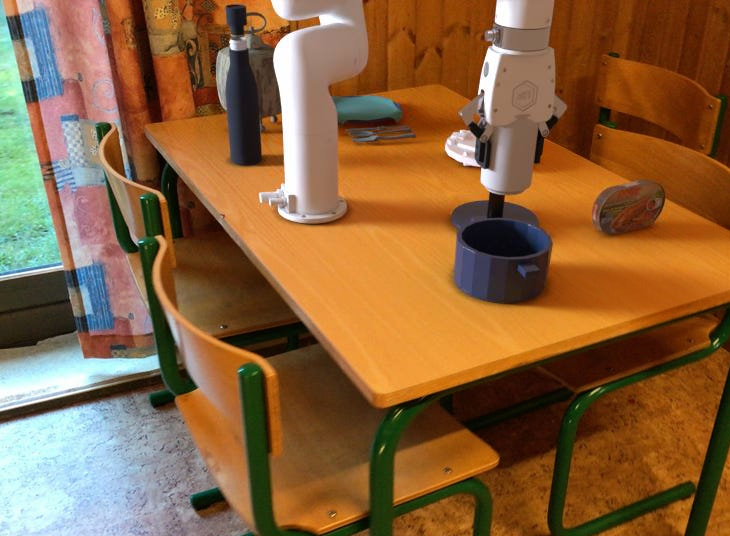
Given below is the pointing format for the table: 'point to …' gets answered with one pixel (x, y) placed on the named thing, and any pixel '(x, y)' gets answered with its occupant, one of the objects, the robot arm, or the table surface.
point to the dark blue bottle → (241, 94)
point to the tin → (628, 206)
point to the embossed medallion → (462, 147)
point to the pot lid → (491, 211)
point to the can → (511, 157)
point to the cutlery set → (369, 116)
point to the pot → (502, 259)
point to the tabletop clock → (255, 73)
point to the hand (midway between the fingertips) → (507, 162)
